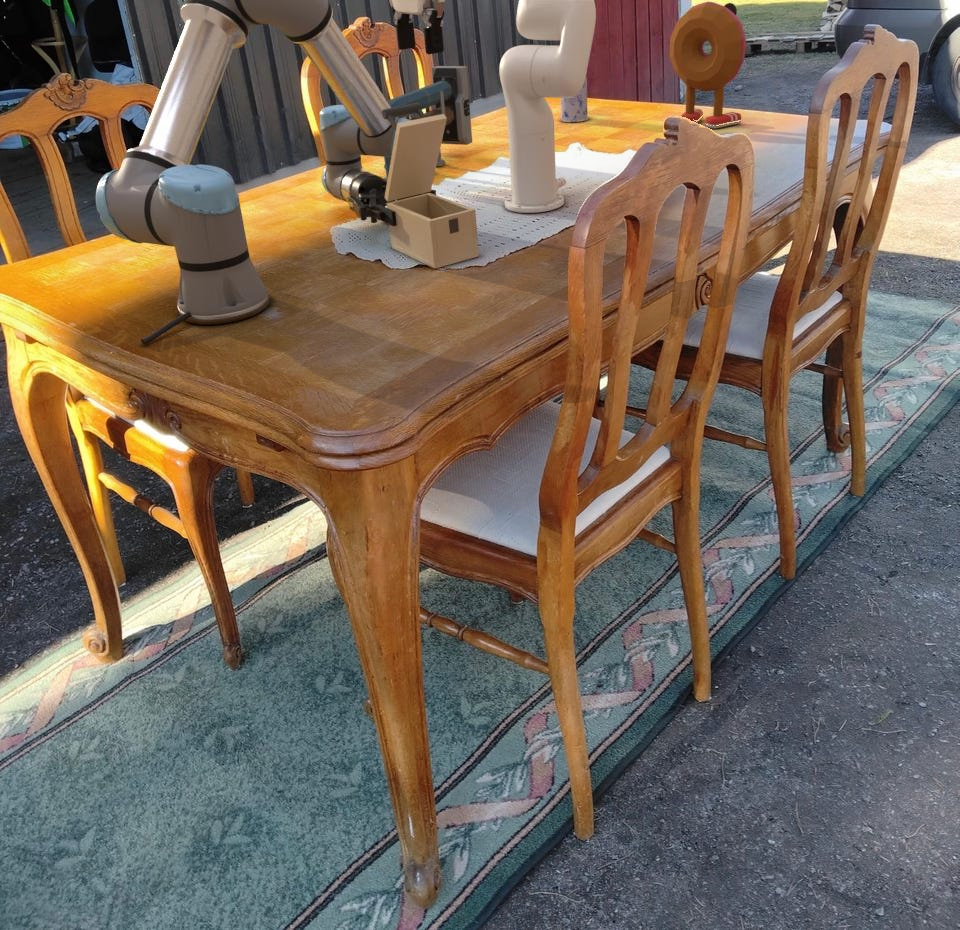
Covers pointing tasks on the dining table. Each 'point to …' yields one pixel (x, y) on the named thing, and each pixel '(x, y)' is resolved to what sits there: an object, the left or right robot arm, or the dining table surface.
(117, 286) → the dining table surface
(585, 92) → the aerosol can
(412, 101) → the clamp
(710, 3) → the toy
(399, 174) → the lid
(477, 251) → the chest
